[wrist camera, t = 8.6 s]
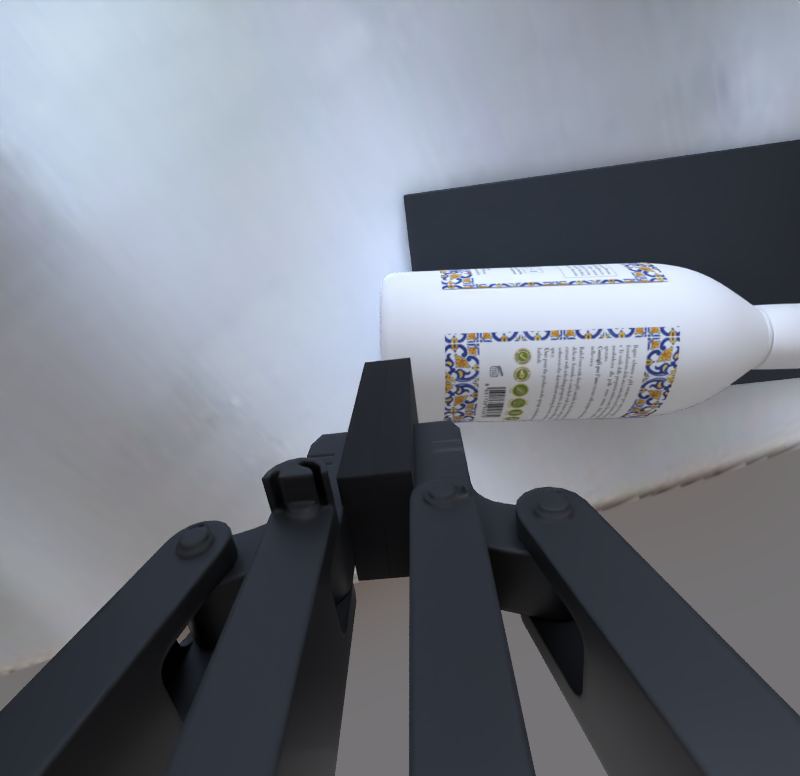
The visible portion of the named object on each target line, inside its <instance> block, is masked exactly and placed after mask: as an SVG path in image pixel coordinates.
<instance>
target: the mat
mask: <svg viewBox="0 0 800 776" xmlns="http://www.w3.org/2000/svg"><path fill="white" fill-rule="evenodd" d="M404 204H405V212H406V221H407V229H408V238H409V247H410V255H411V264H412V272H419V271H439V270H461V269H488V268H515V267H542V266H568V265H595V264H622V263H653V264H665V265H672V266H678V267H682V268H686V269H690V270H693V271H696V272H699V273H701V274H703V275H706V276H708V277H710V278H712V279H714V280H716V281H717V282H719V283H721V284H722V285H724V286H726V287H727V288H729V289H730V290H732V291H733V292H735V293H736V294H737V295H739V296H740V297H742V298H743V299H744V300H746V301H747V302H749V303H750V304H751V305H753V306H754V305H771V304H798V303H800V140H793V141H786V142H779V143H772V144H765V145H758V146H751V147H743V148H736V149H729V150H722V151H715V152H708V153H701V154H694V155H686V156H679V157H672V158H665V159H658V160H651V161H644V162H636V163H629V164H622V165H615V166H608V167H601V168H594V169H586V170H579V171H572V172H565V173H558V174H551V175H544V176H536V177H529V178H522V179H515V180H508V181H501V182H494V183H486V184H479V185H472V186H465V187H458V188H451V189H444V190H436V191H429V192H422V193H415V194H408V195H404ZM791 378H800V368H797V369H751V370H749V371H748V372H747V373H745V374H744V375H743V376H741V377H740V378H739V379H737V380H736V381H734V382H733V383H732V384H730V385H735V384H744V383H753V382H763V381H772V380H782V379H791Z"/></svg>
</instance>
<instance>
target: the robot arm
mask: <svg viewBox="0 0 800 776" xmlns="http://www.w3.org/2000/svg"><path fill="white" fill-rule="evenodd" d="M262 482H263V485H264V489H265V492H266V495H267V499H268V502H269V505H270V509H271V515H270V517H269V520H268V522H267V524H265V525H262V526H260V527H257V528H255V529H251V530H248V531H245V532H242V533H238V534H235V535H232V532H231V529H230V528H229V527H228V526H227V524H226V523H223V522H220V521H204V522H200V523H197V524H193V525H191V526H189V527H187V528H185V529H183V530H181V531H179V532H178V533H176V534H175V535H174V536H173V537H172V538H170V539H169V540H168V541H167V542H166V543H165V544H164V545H163V546H162V547H161V548H160V549H159V550H158V551H157V552H156V553H155V554H154V555H153V556H152V557H151V558H150V559H149V560H148V561H147V562H146V563H145V564H144V565H143V566H142V567H141V568H140V569H139V570H138V571H137V572H136V574H135V575H134V576H133V577H132V578H131V579H130V580H129V581H128V582H127V583H126V584H125V585H124V586H123V587H122V588H121V589H120V590H119V591H118V592H117V593H116V594H115V595H114V596H113V597H112V598H111V599H110V600H109V601H108V602H107V603H106V604H105V605H104V606H103V607H102V608H101V609H100V610H99V611H98V612H97V613H96V614H95V615H94V616H93V617H92V618H91V619H90V621H89V622H88V623H87V624H86V625H85V626H84V627H83V628H82V629H81V630H80V631H79V632H78V633H77V634H76V635H75V636H74V637H73V638H72V639H71V640H70V641H69V642H68V643H67V644H66V645H65V646H64V647H63V648H62V649H61V650H60V651H59V652H58V653H57V654H56V655H55V656H54V657H53V658H52V659H51V660H50V661H49V662H48V663H47V665H46V666H44V668H43V669H42V670H41V671H40V672H39V673H38V674H37V675H36V676H35V677H34V678H33V679H32V680H31V681H30V682H29V683H28V684H27V685H26V686H25V687H24V688H23V689H22V690H21V691H20V692H19V693H18V694H17V695H16V696H15V697H14V698H13V699H12V700H11V701H10V702H9V703H8V704H7V705H6V706H5V707H4V708H3V709H2V710H1V711H0V776H335V769H336V761H337V753H338V745H339V737H340V729H341V720H342V713H343V705H344V697H345V688H346V680H347V672H348V664H349V656H350V647H351V639H352V631H353V624H354V615H355V608H356V594H355V589H354V584H353V575H354V568H355V566H356V571H357V576H358V580H359V581H362V580H374V579H386V578H398V577H410V623H409V624H410V626H409V629H410V630H409V637H410V639H409V640H410V642H409V645H410V646H409V653H410V654H409V655H410V656H409V663H410V664H409V776H536V775H535V770H534V765H533V761H532V756H531V751H530V747H529V742H528V737H527V732H526V728H525V723H524V718H523V714H522V709H521V705H520V699H519V695H518V690H517V685H516V681H515V676H514V671H513V666H512V662H511V657H510V652H509V648H508V643H507V638H506V633H505V629H504V624H503V619H502V614H501V610H504V611H509V612H514V613H518V614H521V618H522V621H523V623H524V625H525V627H526V628H527V630H528V632H529V634H530V636H531V637H532V639H533V641H534V643H535V645H536V646H537V648H538V650H539V652H540V653H541V655H542V657H543V659H544V661H545V663H546V664H547V666H548V668H549V670H550V672H551V673H552V675H553V677H554V679H555V681H556V682H557V684H558V686H559V688H560V690H561V691H562V693H563V695H564V696H565V698H566V700H567V702H568V704H569V706H570V707H571V709H572V711H573V713H574V715H575V717H576V718H577V720H578V722H579V724H580V726H581V727H582V729H583V731H584V733H585V735H586V736H587V738H588V740H589V742H590V743H591V745H592V747H593V749H594V751H595V753H596V754H597V756H598V758H599V760H600V762H601V763H602V765H603V767H604V769H605V771H606V772H607V774H608V776H800V716H799V715H798V714H797V713H796V712H795V711H794V710H793V709H792V708H791V707H790V706H789V705H788V704H787V703H786V702H785V701H784V700H783V699H782V698H781V697H780V696H779V695H778V694H777V693H776V692H775V691H774V690H773V689H772V688H771V687H770V686H769V685H768V684H767V683H766V682H765V681H764V680H763V679H762V678H761V676H759V674H758V673H757V672H756V671H755V670H754V669H752V667H750V666H749V664H748V663H747V662H745V660H744V659H743V658H742V657H741V656H740V655H739V654H738V653H737V652H736V651H735V650H734V649H733V648H732V647H731V646H730V645H729V644H728V643H727V642H725V640H724V639H723V638H722V637H721V636H720V635H719V634H718V633H717V632H716V631H715V630H714V629H713V628H712V627H711V626H710V625H709V624H708V623H707V622H706V621H705V620H704V619H703V618H702V617H701V616H700V615H699V614H698V613H697V612H696V611H695V610H694V609H693V608H692V607H691V606H690V605H689V604H688V603H687V602H686V601H685V600H684V599H683V598H682V597H681V596H680V595H679V594H678V593H677V592H676V591H675V590H674V589H673V588H672V587H671V586H670V585H669V584H668V583H667V582H666V581H665V580H664V579H663V578H662V577H661V576H660V575H659V574H658V573H657V572H656V571H655V570H654V569H653V568H652V567H651V566H650V565H649V564H648V563H647V562H646V561H645V560H644V559H643V558H642V557H641V556H640V555H639V554H638V553H637V552H636V551H635V550H634V549H633V548H632V546H630V544H628V543H627V542H626V540H624V538H623V537H622V536H621V535H620V534H618V532H617V531H616V530H615V529H614V528H613V527H612V526H611V525H610V524H609V523H608V522H607V521H606V520H605V519H604V518H603V517H602V516H601V515H600V514H599V513H598V512H597V511H596V510H595V509H594V508H593V507H592V506H591V505H590V504H589V503H588V502H587V501H586V500H585V499H583V498H582V497H580V496H579V495H578V494H576V493H574V492H571V491H568V490H566V489H563V488H555V487H543V488H535V489H533V490H530V491H528V492H525V493H524V494H523V495H522V496H521V497H520V498H519V499H518V500H517V504H516V505H512V504H504V503H499V502H494V501H491V500H489V499H486V498H484V497H483V496H481V495H479V494H478V493H477V492H476V491H475V490H474V489H473V487H472V484H471V481H470V476H469V471H468V467H467V462H466V457H465V452H464V447H463V442H462V438H461V433H460V428H459V427H457V426H456V425H455V424H454V423H453V422H452V421H451V420H444V421H435V422H426V423H419V422H418V414H417V406H416V399H415V391H414V383H413V375H412V367H411V360H410V357H409V358H401V359H392V360H383V361H375V362H366V363H365V364H364V368H363V372H362V376H361V380H360V384H359V388H358V392H357V397H356V401H355V405H354V409H353V413H352V417H351V421H350V425H349V429H348V432H344V433H335V434H325V435H322V436H321V437H319V438H318V439H317V440H316V441H315V442H314V443H313V444H312V445H311V447H310V450H309V453H308V455H307V458H297V459H292V460H288V461H286V462H283V463H281V464H278V465H276V466H275V467H273V468H272V469H270V470H269V471H268V472H267V473H266V474H265V475H264V477H263V478H262ZM187 625H188V627H189V629H190V633H189V634H188V636H187V637H186V638H185V639H184V640H183V641H182V642H181V643H180V644H179V643H178V642H177V640H176V639H177V638H178V637H179V635H180V634H181V633H182V632H183V630H184V629H185V628H186V626H187Z"/></svg>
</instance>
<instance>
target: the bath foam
mask: <svg viewBox="0 0 800 776" xmlns="http://www.w3.org/2000/svg"><path fill="white" fill-rule="evenodd" d="M380 351H381V361H383V360H392V359H401V358H409V357H410V360H411V367H412V375H413V383H414V391H415V399H416V406H417V414H418V422H419V423H426V422H435V421H444V420H451V421H452V422H488V421H526V420H563V419H601V418H639V417H647V416H656V415H662V414H667V413H672V412H676V411H679V410H683V409H686V408H689V407H691V406H694V405H696V404H699V403H701V402H703V401H705V400H707V399H708V398H710V397H712V396H714V395H715V394H717V393H718V392H720V391H721V390H723V389H724V388H726V387H727V386H729V385H730V384H732V383H733V382H734V381H736V380H737V379H739V378H740V377H741V376H743V375H744V374H745V373H747V372H748V371H749V370H751V369H797V368H800V303H798V304H771V305H754V306H753V305H751V304H750V303H749V302H747V301H746V300H744V299H743V298H742V297H740V296H739V295H737V294H736V293H735V292H733V291H732V290H730V289H729V288H727V287H726V286H724V285H722V284H721V283H719V282H717V281H716V280H714V279H712V278H710V277H708V276H706V275H703V274H701V273H699V272H696V271H693V270H690V269H686V268H682V267H678V266H672V265H665V264H653V263H622V264H595V265H568V266H542V267H515V268H488V269H461V270H439V271H419V272H397V273H391V274H389V275H387V276H386V277H385V279H384V280H383V282H382V286H381V296H380Z"/></svg>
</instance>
